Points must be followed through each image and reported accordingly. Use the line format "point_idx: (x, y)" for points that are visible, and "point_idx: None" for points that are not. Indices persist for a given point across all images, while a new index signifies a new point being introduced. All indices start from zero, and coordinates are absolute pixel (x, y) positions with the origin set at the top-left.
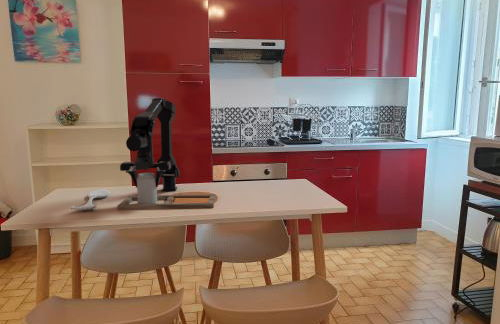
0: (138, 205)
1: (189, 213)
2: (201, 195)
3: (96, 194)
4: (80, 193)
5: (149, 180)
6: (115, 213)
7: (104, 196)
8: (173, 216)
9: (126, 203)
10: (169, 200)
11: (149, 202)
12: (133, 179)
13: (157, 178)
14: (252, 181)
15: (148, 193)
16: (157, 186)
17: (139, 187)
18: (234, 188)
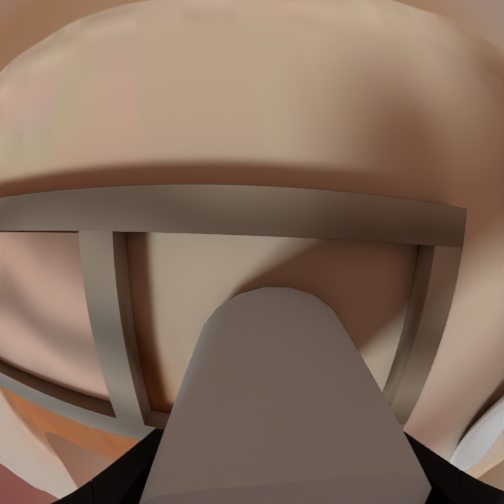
0: (325, 190)
1: (11, 100)
2: (10, 380)
3: (487, 434)
4: (500, 442)
5: (204, 475)
6: (440, 114)
7: (477, 420)
8: (72, 35)
9: (420, 299)
10: (100, 324)
11: (244, 295)
12: (458, 475)
13: (98, 497)
14: (23, 478)
15: (247, 335)
16: (153, 436)
17: (373, 390)
18: (15, 449)
